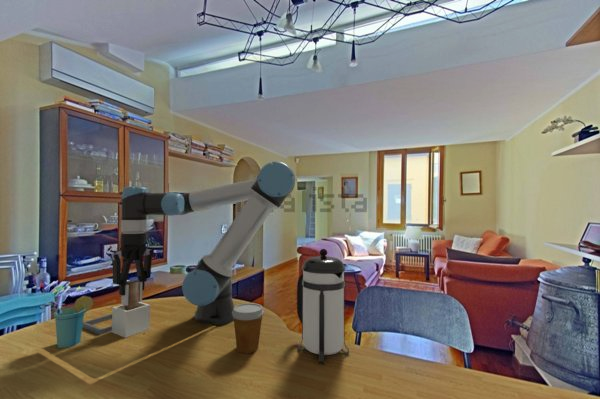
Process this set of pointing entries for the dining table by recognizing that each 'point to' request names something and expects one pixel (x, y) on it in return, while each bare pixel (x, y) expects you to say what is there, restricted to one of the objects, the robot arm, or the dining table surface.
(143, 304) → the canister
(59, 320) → the cup
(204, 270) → the robot arm
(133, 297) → the dowel
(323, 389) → the dining table surface
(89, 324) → the tray
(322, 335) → the coffee press
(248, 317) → the disposable coffee cup
